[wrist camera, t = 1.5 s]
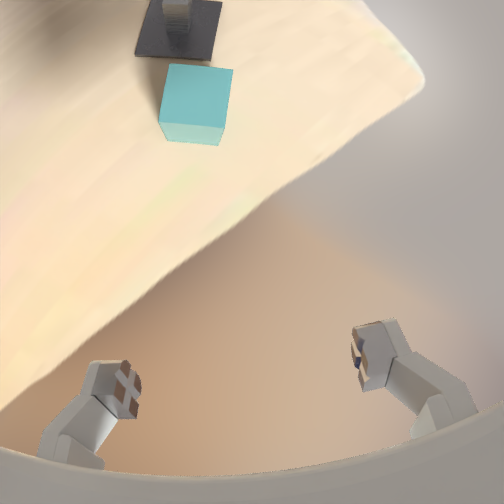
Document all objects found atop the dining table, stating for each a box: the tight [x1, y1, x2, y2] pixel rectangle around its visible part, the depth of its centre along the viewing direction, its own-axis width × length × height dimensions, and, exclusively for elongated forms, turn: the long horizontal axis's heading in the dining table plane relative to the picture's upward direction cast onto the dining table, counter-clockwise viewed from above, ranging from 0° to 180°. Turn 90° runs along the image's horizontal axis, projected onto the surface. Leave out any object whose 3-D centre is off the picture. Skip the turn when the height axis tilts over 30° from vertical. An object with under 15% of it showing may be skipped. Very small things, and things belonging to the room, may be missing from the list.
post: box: [135, 0, 223, 61], centre depth 27 cm, size 9×9×7 cm
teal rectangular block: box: [158, 64, 233, 146], centre depth 29 cm, size 6×6×9 cm
